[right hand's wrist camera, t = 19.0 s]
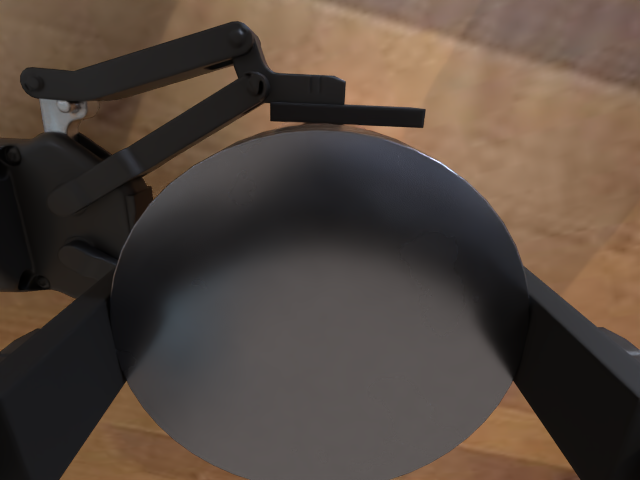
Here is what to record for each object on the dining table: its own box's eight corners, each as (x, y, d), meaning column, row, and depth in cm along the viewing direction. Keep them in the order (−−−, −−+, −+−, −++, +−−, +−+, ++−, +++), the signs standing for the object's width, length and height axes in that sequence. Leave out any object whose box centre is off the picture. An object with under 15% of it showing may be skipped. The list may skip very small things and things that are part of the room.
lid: (437, 50, 9) (464, 39, 8) (533, 382, 13) (566, 427, 11) (66, 219, 11) (17, 243, 9) (243, 474, 15) (232, 527, 13)
